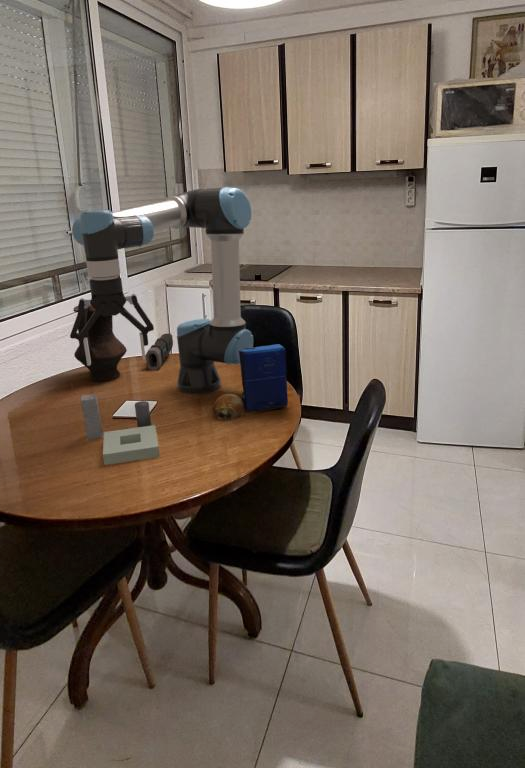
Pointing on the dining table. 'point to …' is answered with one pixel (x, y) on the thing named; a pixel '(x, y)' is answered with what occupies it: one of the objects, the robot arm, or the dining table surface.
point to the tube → (159, 351)
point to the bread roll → (228, 407)
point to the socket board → (130, 445)
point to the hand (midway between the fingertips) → (116, 361)
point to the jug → (100, 347)
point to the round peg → (142, 414)
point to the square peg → (91, 416)
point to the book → (263, 378)
